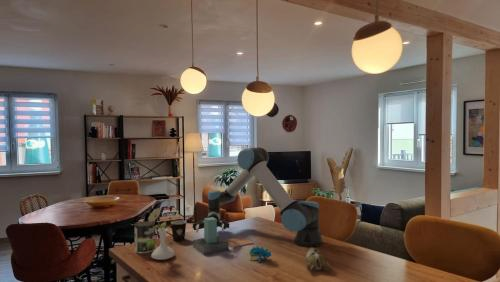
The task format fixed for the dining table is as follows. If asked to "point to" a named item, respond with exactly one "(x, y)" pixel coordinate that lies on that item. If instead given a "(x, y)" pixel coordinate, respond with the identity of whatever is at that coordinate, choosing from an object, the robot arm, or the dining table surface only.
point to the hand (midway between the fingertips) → (209, 230)
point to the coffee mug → (178, 230)
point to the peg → (210, 230)
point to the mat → (238, 242)
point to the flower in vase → (163, 249)
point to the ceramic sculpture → (316, 261)
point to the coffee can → (144, 237)
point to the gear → (259, 253)
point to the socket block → (210, 246)
